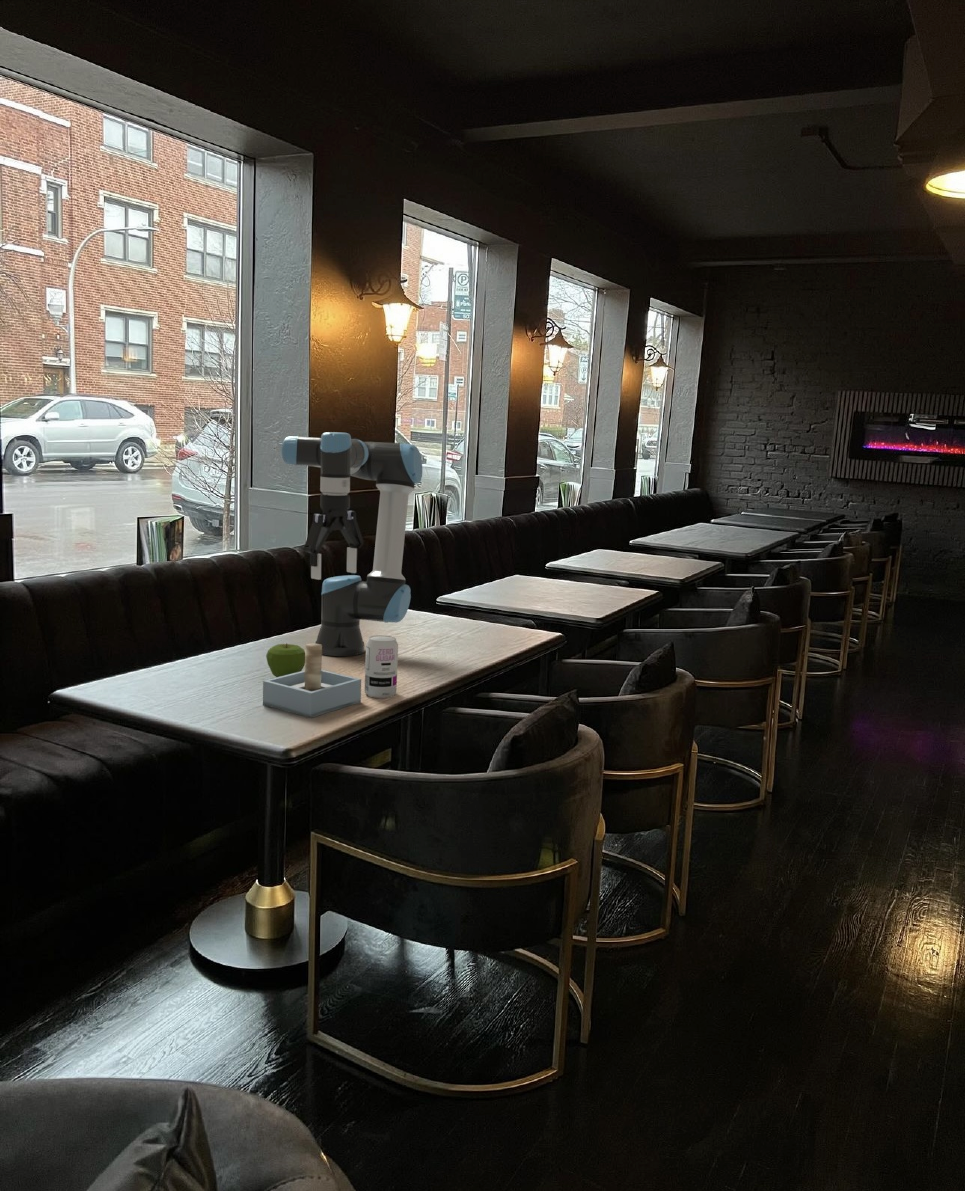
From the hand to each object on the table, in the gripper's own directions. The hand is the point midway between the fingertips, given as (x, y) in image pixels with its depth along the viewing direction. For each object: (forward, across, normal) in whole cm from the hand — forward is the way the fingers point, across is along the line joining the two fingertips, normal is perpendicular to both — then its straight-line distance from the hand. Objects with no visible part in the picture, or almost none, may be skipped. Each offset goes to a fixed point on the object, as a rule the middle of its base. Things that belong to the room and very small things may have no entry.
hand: (334, 575), depth 250 cm
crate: (+29, -15, -7) cm, 34 cm away
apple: (+30, -3, +14) cm, 34 cm away
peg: (+29, -15, -7) cm, 33 cm away
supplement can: (+30, +3, -14) cm, 33 cm away
